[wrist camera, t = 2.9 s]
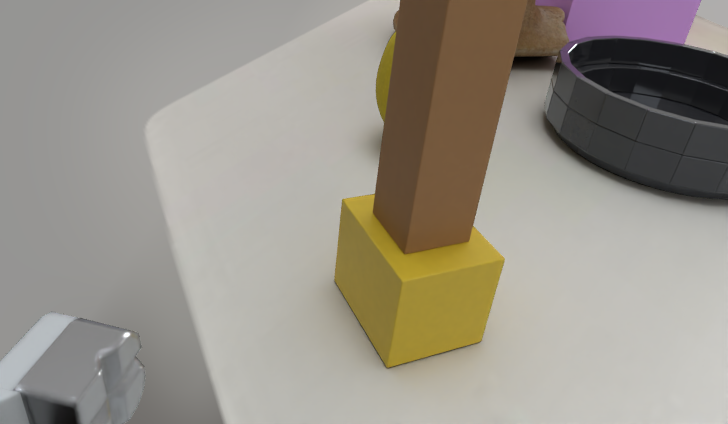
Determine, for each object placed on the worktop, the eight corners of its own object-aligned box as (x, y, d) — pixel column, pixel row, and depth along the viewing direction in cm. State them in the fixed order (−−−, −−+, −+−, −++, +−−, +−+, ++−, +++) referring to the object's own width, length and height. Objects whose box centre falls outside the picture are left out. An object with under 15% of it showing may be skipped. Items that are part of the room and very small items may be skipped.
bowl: (497, 103, 43) (512, 40, 40) (654, 88, 49) (676, 31, 46) (665, 225, 32) (701, 147, 29) (843, 185, 37) (885, 118, 35)
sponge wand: (333, 280, 25) (370, -96, 18) (418, 262, 27) (486, -91, 19) (386, 369, 22) (461, -59, 14) (481, 341, 23) (596, -55, 15)
